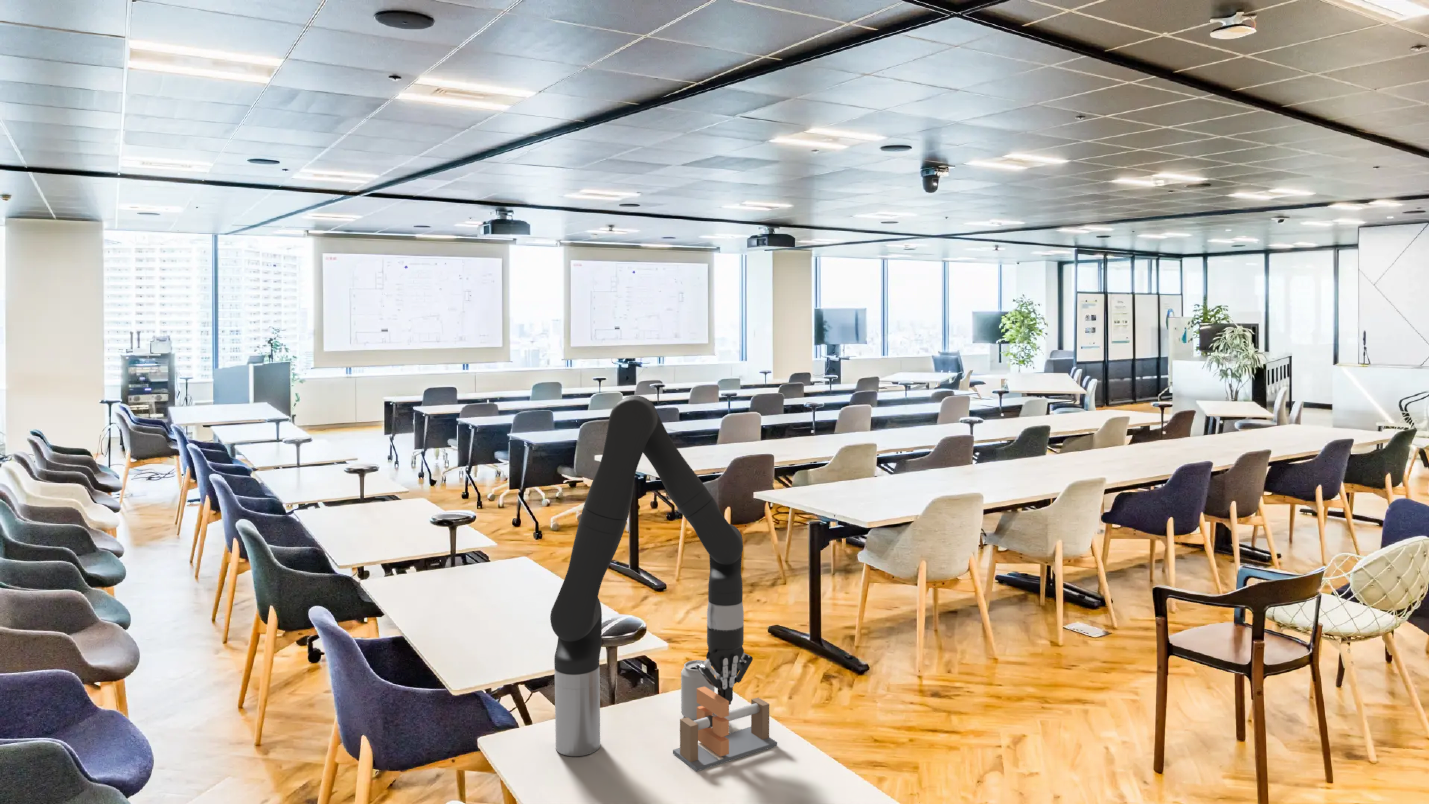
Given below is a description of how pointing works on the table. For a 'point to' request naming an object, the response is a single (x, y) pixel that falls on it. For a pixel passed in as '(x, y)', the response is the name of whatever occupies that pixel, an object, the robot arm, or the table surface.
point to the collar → (713, 720)
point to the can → (692, 688)
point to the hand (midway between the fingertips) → (725, 704)
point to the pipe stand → (739, 740)
